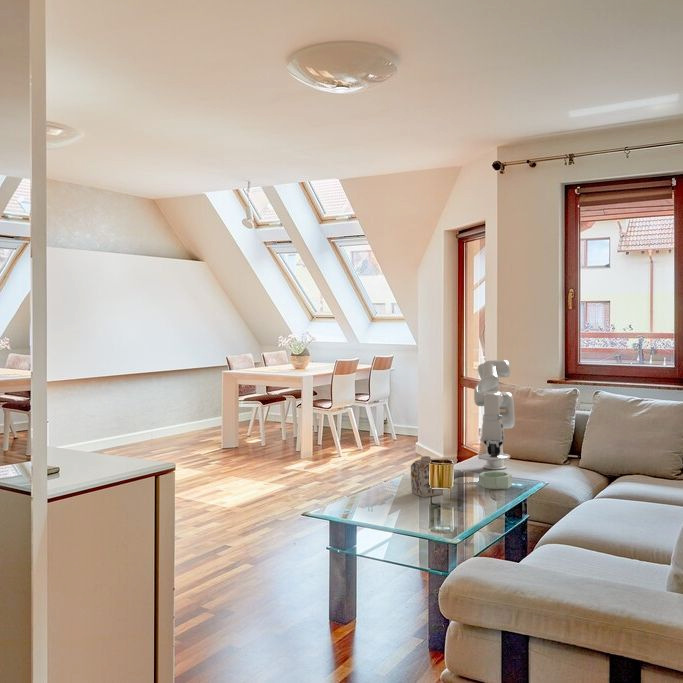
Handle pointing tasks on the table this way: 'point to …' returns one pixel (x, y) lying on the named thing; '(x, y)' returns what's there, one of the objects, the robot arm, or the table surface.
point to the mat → (469, 483)
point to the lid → (493, 454)
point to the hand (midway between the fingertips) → (494, 454)
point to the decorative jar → (422, 478)
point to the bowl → (495, 480)
